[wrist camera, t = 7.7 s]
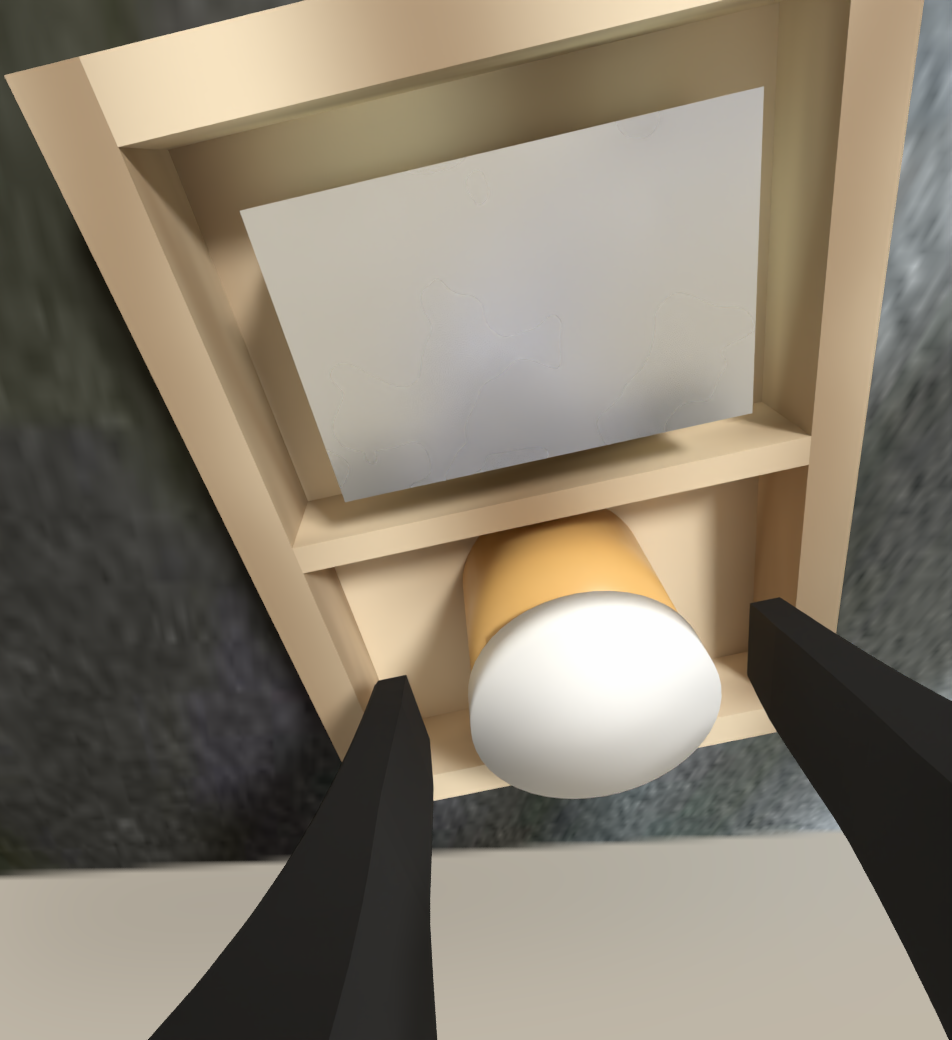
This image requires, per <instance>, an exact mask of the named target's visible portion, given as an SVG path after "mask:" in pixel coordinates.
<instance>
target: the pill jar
mask: <svg viewBox="0 0 952 1040" xmlns="http://www.w3.org/2000/svg"><path fill="white" fill-rule="evenodd" d="M463 593H464V604H465V615H466V625H467V636H468V647H469V657H470V668H471V674H470V679H469V684H468V703H469V715H470V727H471V735H472V741H473V744H474V746H475V749H476V752H477V753H478V755H479V757H480V758H481V760H482V762H483V763H484V764H485V765H486V766H487V767H488V769H489V770H490V771H492V772H493V773H494V774H495V775H496V776H497V777H499V778H500V779H502V780H503V781H505V782H506V783H508V784H510V785H512V786H514V787H516V788H518V789H521V790H524V791H527V792H529V793H532V794H537V795H541V796H546V797H553V798H565V799H582V798H594V797H601V796H607V795H612V794H616V793H620V792H624V791H627V790H630V789H633V788H636V787H639V786H641V785H644V784H646V783H648V782H650V781H652V780H655V779H657V778H659V777H661V776H662V775H664V774H666V773H667V772H669V771H671V770H672V769H674V768H675V767H676V766H678V765H679V764H680V763H682V762H683V761H684V760H685V759H687V758H688V757H689V756H690V755H691V754H692V753H693V752H694V751H695V750H696V749H697V748H698V747H699V746H700V745H701V743H702V742H703V741H704V740H705V738H706V737H707V735H708V734H709V732H710V731H711V729H712V727H713V725H714V723H715V721H716V719H717V716H718V713H719V710H720V704H721V698H722V694H721V682H720V678H719V674H718V672H717V670H716V667H715V665H714V663H713V661H712V660H711V658H710V656H709V654H708V653H707V651H706V649H705V648H704V646H703V644H702V642H701V641H700V639H699V637H698V636H697V634H696V632H695V631H694V629H693V628H692V627H691V625H690V624H689V623H688V622H687V621H686V620H685V619H684V618H683V617H682V616H681V615H680V614H679V613H678V612H677V610H676V608H675V606H674V605H673V603H672V601H671V599H670V598H669V596H668V594H667V592H666V590H665V589H664V587H663V585H662V583H661V582H660V580H659V578H658V576H657V575H656V573H655V571H654V569H653V568H652V566H651V564H650V562H649V561H648V559H647V557H646V555H645V554H644V552H643V550H642V548H641V546H640V545H639V543H638V541H637V539H636V538H635V536H634V534H633V533H632V531H631V530H630V528H629V527H628V526H627V525H626V524H625V523H624V521H623V520H622V519H621V518H619V517H618V516H617V515H615V514H614V513H613V512H611V511H609V510H608V509H606V508H605V509H600V510H596V511H591V512H586V513H582V514H577V515H572V516H568V517H563V518H559V519H554V520H549V521H545V522H540V523H535V524H531V525H526V526H521V527H517V528H512V529H507V530H503V531H498V532H493V533H489V534H484V535H480V536H479V538H478V539H477V540H476V542H475V543H474V545H473V546H472V548H471V550H470V552H469V554H468V557H467V559H466V562H465V566H464V571H463Z"/></svg>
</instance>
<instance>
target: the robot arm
mask: <svg viewBox="0 0 952 1040" xmlns="http://www.w3.org/2000/svg"><path fill="white" fill-rule="evenodd" d="M747 676H748V678H749V680H750V682H751V684H752V686H753V688H754V690H755V692H756V694H757V696H758V698H759V700H760V702H761V704H762V706H763V708H764V710H765V712H766V714H767V716H768V718H769V720H770V721H771V723H772V725H773V726H774V728H775V729H776V731H777V732H778V734H779V735H780V737H781V738H782V740H783V742H784V743H785V745H786V746H787V748H788V749H789V751H790V752H791V754H792V755H793V757H794V758H795V760H796V761H797V763H798V764H799V766H800V767H801V769H802V770H803V772H804V773H805V775H806V776H807V778H808V779H809V781H810V782H811V784H812V785H813V787H814V788H815V790H816V791H817V793H818V794H819V796H820V797H821V799H822V800H823V802H824V803H825V805H826V806H827V808H828V809H829V811H830V812H831V814H832V815H833V817H834V819H835V820H836V822H837V823H838V825H839V827H840V828H841V830H842V831H843V833H844V835H845V836H846V838H847V839H848V841H849V843H850V845H851V847H852V848H853V850H854V852H855V854H856V856H857V858H858V860H859V861H860V863H861V865H862V867H863V869H864V871H865V873H866V874H867V876H868V878H869V880H870V882H871V884H872V885H873V887H874V889H875V891H876V893H877V895H878V897H879V899H880V901H881V902H882V905H883V906H884V908H885V910H886V912H887V914H888V916H889V918H890V920H891V922H892V924H893V926H894V928H895V930H896V932H897V933H898V935H899V938H900V940H901V942H902V943H903V945H904V947H905V949H906V951H907V953H908V955H909V957H910V960H911V962H912V964H913V966H914V968H915V970H916V972H917V974H918V976H919V978H920V980H921V982H922V984H923V986H924V988H925V990H926V992H927V994H928V996H929V998H930V1001H931V1003H932V1005H933V1007H934V1009H935V1011H936V1013H937V1015H938V1017H939V1019H940V1021H941V1024H942V1026H943V1028H944V1030H945V1032H946V1034H947V1037H948V1039H949V1040H952V701H950V700H948V699H946V698H945V697H943V696H941V695H939V694H937V693H935V692H933V691H932V690H930V689H928V688H926V687H924V686H923V685H921V684H919V683H917V682H915V681H913V680H912V679H910V678H908V677H906V676H904V675H903V674H901V673H899V672H898V671H896V670H894V669H892V668H891V667H889V666H887V665H886V664H884V663H882V662H881V661H879V660H877V659H876V658H874V657H872V656H871V655H869V654H867V653H866V652H864V651H863V650H861V649H859V648H858V647H856V646H855V645H853V644H851V643H850V642H848V641H847V640H845V639H843V638H842V637H840V636H839V635H837V634H836V633H834V632H833V631H831V630H829V629H828V628H826V627H825V626H823V625H822V624H820V623H819V622H817V621H816V620H814V619H813V618H811V617H810V616H808V615H807V614H805V613H804V612H802V611H800V610H799V609H797V608H796V607H794V606H793V605H791V604H790V603H788V602H787V601H785V600H783V599H782V598H780V597H778V598H773V599H768V600H763V601H758V602H754V603H750V612H749V637H748V662H747ZM433 794H434V785H433V771H432V758H431V746H430V738H429V735H428V733H427V730H426V727H425V724H424V722H423V719H422V716H421V713H420V711H419V708H418V705H417V702H416V700H415V697H414V694H413V692H412V689H411V686H410V683H409V681H408V678H407V675H403V676H398V677H393V678H388V679H383V680H379V681H377V683H376V684H375V685H374V688H373V691H372V693H371V696H370V699H369V701H368V704H367V706H366V709H365V711H364V714H363V716H362V719H361V721H360V724H359V726H358V728H357V731H356V733H355V735H354V738H353V740H352V742H351V744H350V746H349V749H348V751H347V753H346V755H345V757H344V759H343V761H342V764H341V766H340V768H339V770H338V772H337V774H336V776H335V778H334V780H333V782H332V784H331V786H330V788H329V790H328V792H327V794H326V795H325V797H324V799H323V801H322V803H321V805H320V807H319V809H318V811H317V813H316V814H315V816H314V818H313V820H312V822H311V823H310V825H309V827H308V829H307V830H306V832H305V834H304V835H303V837H302V839H301V840H300V842H299V844H298V845H297V847H296V849H295V850H294V852H293V853H292V855H291V857H290V858H289V860H288V861H287V863H286V865H285V866H284V868H283V869H282V871H281V872H280V874H279V875H278V877H277V878H276V880H275V881H274V883H273V884H272V885H271V887H270V889H269V890H268V891H267V893H266V894H265V896H264V897H263V899H262V900H261V902H260V903H259V904H258V906H257V907H256V909H255V910H254V912H253V913H252V914H251V916H250V917H249V918H248V920H247V921H246V922H245V924H244V925H243V926H242V928H241V929H240V930H239V932H238V933H237V934H236V936H235V937H234V938H233V939H232V941H231V942H230V943H229V944H228V946H227V947H226V948H225V949H224V951H223V952H222V953H221V954H220V956H219V957H218V958H217V960H216V961H215V962H214V963H213V965H212V966H211V967H210V969H209V970H208V971H207V972H206V974H205V975H204V976H203V977H202V978H201V980H200V981H199V982H198V983H197V984H196V986H195V987H194V988H193V989H192V990H191V992H190V993H189V994H188V995H187V996H186V997H185V998H184V999H183V1001H182V1002H181V1003H180V1004H179V1005H178V1006H177V1007H176V1009H175V1010H174V1011H173V1012H172V1013H171V1014H170V1015H169V1017H168V1018H167V1019H166V1020H165V1021H164V1022H163V1023H162V1024H161V1026H160V1027H159V1028H158V1029H157V1030H156V1031H155V1032H154V1034H153V1035H152V1036H151V1037H150V1038H149V1039H148V1040H437V1030H436V1015H435V1001H434V985H433V968H432V950H431V932H430V887H431V857H432V829H433Z"/></svg>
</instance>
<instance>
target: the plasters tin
mask: <svg viewBox="0 0 952 1040" xmlns="http://www.w3.org/2000/svg"><path fill="white" fill-rule="evenodd" d="M763 101H764V86H763V87H759V88H754V89H750V90H745V91H741V92H737V93H733V94H728V95H724V96H720V97H716V98H712V99H707V100H703V101H699V102H695V103H691V104H686V105H682V106H678V107H674V108H670V109H665V110H661V111H657V112H653V113H648V114H644V115H640V116H636V117H632V118H627V119H623V120H619V121H615V122H611V123H606V124H602V125H598V126H594V127H590V128H585V129H581V130H577V131H573V132H568V133H564V134H560V135H556V136H552V137H547V138H543V139H539V140H535V141H531V142H526V143H522V144H518V145H514V146H509V147H505V148H501V149H497V150H493V151H488V152H484V153H480V154H476V155H472V156H467V157H463V158H459V159H455V160H451V161H446V162H442V163H438V164H434V165H429V166H425V167H421V168H417V169H413V170H408V171H404V172H400V173H396V174H392V175H387V176H383V177H379V178H375V179H370V180H366V181H362V182H358V183H354V184H349V185H345V186H341V187H337V188H333V189H328V190H324V191H320V192H316V193H312V194H307V195H303V196H299V197H295V198H290V199H286V200H282V201H278V202H274V203H269V204H265V205H261V206H257V207H253V208H248V209H245V210H241V211H240V214H241V216H242V219H243V222H244V225H245V227H246V230H247V233H248V236H249V238H250V241H251V244H252V247H253V249H254V252H255V255H256V258H257V260H258V263H259V266H260V269H261V272H262V274H263V277H264V280H265V283H266V285H267V288H268V291H269V294H270V296H271V299H272V302H273V305H274V307H275V310H276V313H277V316H278V318H279V321H280V324H281V327H282V329H283V332H284V335H285V338H286V340H287V343H288V346H289V349H290V352H291V354H292V357H293V360H294V363H295V365H296V368H297V371H298V374H299V376H300V379H301V382H302V385H303V387H304V390H305V393H306V396H307V398H308V401H309V404H310V407H311V409H312V412H313V415H314V418H315V420H316V423H317V426H318V429H319V432H320V434H321V437H322V440H323V443H324V445H325V448H326V451H327V454H328V456H329V459H330V462H331V465H332V467H333V470H334V473H335V476H336V478H337V481H338V484H339V487H340V489H341V492H342V495H343V498H344V500H345V502H349V501H353V500H358V499H362V498H367V497H372V496H376V495H381V494H385V493H390V492H394V491H399V490H404V489H408V488H413V487H417V486H422V485H426V484H431V483H436V482H440V481H445V480H449V479H454V478H458V477H463V476H468V475H472V474H477V473H481V472H486V471H490V470H495V469H500V468H504V467H509V466H513V465H518V464H522V463H527V462H532V461H536V460H541V459H545V458H550V457H554V456H559V455H564V454H568V453H573V452H577V451H582V450H586V449H591V448H595V447H600V446H605V445H609V444H614V443H618V442H623V441H627V440H632V439H637V438H641V437H646V436H650V435H655V434H659V433H664V432H669V431H673V430H678V429H682V428H687V427H691V426H696V425H701V424H705V423H710V422H714V421H719V420H723V419H728V418H733V417H737V416H742V415H746V414H751V413H752V409H753V381H754V353H755V325H756V297H757V269H758V241H759V213H760V185H761V157H762V129H763Z"/></svg>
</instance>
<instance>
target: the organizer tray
mask: <svg viewBox="0 0 952 1040" xmlns="http://www.w3.org/2000/svg"><path fill="white" fill-rule="evenodd" d="M923 4H924V0H305V1H301V2H297V3H293V4H289V5H285V6H281V7H277V8H273V9H269V10H265V11H261V12H257V13H253V14H249V15H245V16H241V17H237V18H233V19H229V20H225V21H221V22H217V23H213V24H209V25H205V26H201V27H197V28H193V29H189V30H185V31H181V32H177V33H173V34H168V35H164V36H160V37H156V38H152V39H148V40H144V41H140V42H136V43H132V44H128V45H124V46H120V47H116V48H112V49H108V50H104V51H100V52H96V53H92V54H88V55H84V56H80V57H76V58H72V59H68V60H64V61H60V62H56V63H52V64H48V65H44V66H40V67H36V68H32V69H28V70H24V71H20V72H16V73H12V74H8V75H4V76H5V78H6V80H7V82H8V84H9V86H10V88H11V90H12V92H13V94H14V96H15V99H16V101H17V103H18V105H19V107H20V109H21V111H22V113H23V115H24V117H25V119H26V121H27V123H28V125H29V127H30V129H31V131H32V133H33V135H34V137H35V139H36V141H37V143H38V145H39V147H40V149H41V151H42V153H43V155H44V157H45V160H46V162H47V164H48V166H49V168H50V170H51V172H52V174H53V176H54V178H55V180H56V182H57V184H58V186H59V188H60V190H61V192H62V194H63V196H64V198H65V200H66V202H67V204H68V206H69V208H70V210H71V212H72V214H73V216H74V219H75V221H76V223H77V225H78V227H79V229H80V231H81V233H82V235H83V237H84V239H85V241H86V243H87V245H88V247H89V249H90V251H91V253H92V255H93V257H94V259H95V261H96V263H97V265H98V267H99V269H100V271H101V273H102V275H103V277H104V280H105V282H106V284H107V286H108V288H109V290H110V292H111V294H112V296H113V298H114V300H115V302H116V304H117V306H118V308H119V310H120V312H121V314H122V316H123V318H124V320H125V322H126V324H127V326H128V328H129V330H130V332H131V334H132V336H133V339H134V341H135V343H136V345H137V347H138V349H139V351H140V353H141V355H142V357H143V359H144V361H145V363H146V365H147V367H148V369H149V371H150V373H151V375H152V377H153V379H154V381H155V383H156V385H157V387H158V389H159V391H160V393H161V395H162V398H163V400H164V402H165V404H166V406H167V408H168V410H169V412H170V414H171V416H172V418H173V420H174V422H175V424H176V426H177V428H178V430H179V432H180V434H181V436H182V438H183V440H184V442H185V444H186V446H187V448H188V450H189V452H190V454H191V456H192V459H193V461H194V463H195V465H196V467H197V469H198V471H199V473H200V475H201V477H202V479H203V481H204V483H205V485H206V487H207V489H208V491H209V493H210V495H211V497H212V499H213V501H214V503H215V505H216V507H217V509H218V511H219V513H220V515H221V518H222V520H223V522H224V524H225V526H226V528H227V530H228V532H229V534H230V536H231V538H232V540H233V542H234V544H235V546H236V548H237V550H238V552H239V554H240V556H241V558H242V560H243V562H244V564H245V566H246V568H247V570H248V572H249V574H250V576H251V579H252V581H253V583H254V585H255V587H256V589H257V591H258V593H259V595H260V597H261V599H262V601H263V603H264V605H265V607H266V609H267V611H268V613H269V615H270V617H271V619H272V621H273V623H274V625H275V627H276V629H277V631H278V633H279V635H280V638H281V640H282V642H283V644H284V646H285V648H286V650H287V652H288V654H289V656H290V658H291V660H292V662H293V664H294V666H295V668H296V670H297V672H298V674H299V676H300V678H301V680H302V682H303V684H304V686H305V688H306V690H307V692H308V694H309V696H310V699H311V701H312V703H313V705H314V707H315V709H316V711H317V713H318V715H319V717H320V719H321V721H322V723H323V725H324V727H325V729H326V731H327V733H328V735H329V737H330V739H331V741H332V743H333V745H334V747H335V749H336V751H337V753H338V755H339V758H340V760H341V762H342V761H343V759H344V757H345V755H346V753H347V751H348V749H349V746H350V744H351V742H352V740H353V738H354V735H355V733H356V731H357V728H358V726H359V724H360V721H361V719H362V716H363V714H364V711H365V709H366V706H367V704H368V701H369V699H370V696H371V693H372V691H373V688H374V685H375V684H376V683H377V681H379V680H383V679H388V678H393V677H398V676H403V675H407V678H408V681H409V683H410V686H411V689H412V692H413V694H414V697H415V700H416V702H417V705H418V708H419V711H420V713H421V716H422V719H423V722H424V724H425V727H426V730H427V733H428V735H429V738H430V746H431V758H432V771H433V785H434V794H433V801H435V800H440V799H445V798H450V797H455V796H460V795H465V794H470V793H475V792H480V791H485V790H490V789H495V788H500V787H505V786H510V784H508V783H506V782H505V781H503V780H502V779H500V778H499V777H497V776H496V775H495V774H494V773H493V772H492V771H490V770H489V769H488V767H487V766H486V765H485V764H484V763H483V762H482V760H481V758H480V757H479V755H478V753H477V752H476V749H475V746H474V744H473V741H472V735H471V727H470V715H469V703H468V684H469V679H470V674H471V668H470V657H469V647H468V636H467V625H466V615H465V604H464V593H463V571H464V566H465V562H466V559H467V557H468V554H469V552H470V550H471V548H472V546H473V545H474V543H475V542H476V540H477V539H478V538H479V536H480V535H484V534H489V533H493V532H498V531H503V530H507V529H512V528H517V527H521V526H526V525H531V524H535V523H540V522H545V521H549V520H554V519H559V518H563V517H568V516H572V515H577V514H582V513H586V512H591V511H596V510H600V509H605V508H606V509H608V510H609V511H611V512H613V513H614V514H615V515H617V516H618V517H619V518H621V519H622V520H623V521H624V523H625V524H626V525H627V526H628V527H629V528H630V530H631V531H632V533H633V534H634V536H635V538H636V539H637V541H638V543H639V545H640V546H641V548H642V550H643V552H644V554H645V555H646V557H647V559H648V561H649V562H650V564H651V566H652V568H653V569H654V571H655V573H656V575H657V576H658V578H659V580H660V582H661V583H662V585H663V587H664V589H665V590H666V592H667V594H668V596H669V598H670V599H671V601H672V603H673V605H674V606H675V608H676V610H677V612H678V613H679V614H680V615H681V616H682V617H683V618H684V619H685V620H686V621H687V622H688V623H689V624H690V625H691V627H692V628H693V629H694V631H695V632H696V634H697V636H698V637H699V639H700V641H701V642H702V644H703V646H704V648H705V649H706V651H707V653H708V654H709V656H710V658H711V660H712V661H713V663H714V665H715V667H716V670H717V672H718V674H719V678H720V682H721V694H722V698H721V704H720V710H719V713H718V716H717V719H716V721H715V723H714V725H713V727H712V729H711V731H710V732H709V734H708V735H707V737H706V738H705V740H704V741H703V742H702V743H701V745H700V746H699V747H698V748H700V747H705V746H710V745H715V744H720V743H725V742H730V741H735V740H740V739H745V738H750V737H755V736H760V735H765V734H770V733H775V732H777V731H776V729H775V728H774V726H773V725H772V723H771V721H770V720H769V718H768V716H767V714H766V712H765V710H764V708H763V706H762V704H761V702H760V700H759V698H758V696H757V694H756V692H755V690H754V688H753V686H752V684H751V682H750V680H749V678H748V676H747V662H748V637H749V612H750V603H754V602H758V601H763V600H768V599H773V598H778V597H780V598H782V599H783V600H785V601H787V602H788V603H790V604H791V605H793V606H794V607H796V608H797V609H799V610H800V611H802V612H804V613H805V614H807V615H808V616H810V617H811V618H813V619H814V620H816V621H817V622H819V623H820V624H822V625H823V626H825V627H826V628H828V629H829V630H831V631H833V632H834V633H836V630H837V622H838V615H839V608H840V601H841V594H842V587H843V579H844V572H845V565H846V558H847V551H848V543H849V536H850V529H851V522H852V515H853V507H854V500H855V493H856V486H857V479H858V472H859V464H860V457H861V450H862V443H863V436H864V428H865V421H866V414H867V407H868V400H869V392H870V385H871V378H872V371H873V364H874V357H875V349H876V342H877V335H878V328H879V321H880V313H881V306H882V299H883V292H884V285H885V277H886V270H887V263H888V256H889V249H890V242H891V234H892V227H893V220H894V213H895V206H896V198H897V191H898V184H899V177H900V170H901V162H902V155H903V148H904V141H905V134H906V126H907V119H908V112H909V105H910V98H911V91H912V83H913V76H914V69H915V62H916V55H917V47H918V40H919V33H920V26H921V19H922V11H923ZM763 86H764V101H763V129H762V157H761V185H760V213H759V241H758V269H757V297H756V325H755V353H754V381H753V409H752V413H751V414H746V415H742V416H737V417H733V418H728V419H723V420H719V421H714V422H710V423H705V424H701V425H696V426H691V427H687V428H682V429H678V430H673V431H669V432H664V433H659V434H655V435H650V436H646V437H641V438H637V439H632V440H627V441H623V442H618V443H614V444H609V445H605V446H600V447H595V448H591V449H586V450H582V451H577V452H573V453H568V454H564V455H559V456H554V457H550V458H545V459H541V460H536V461H532V462H527V463H522V464H518V465H513V466H509V467H504V468H500V469H495V470H490V471H486V472H481V473H477V474H472V475H468V476H463V477H458V478H454V479H449V480H445V481H440V482H436V483H431V484H426V485H422V486H417V487H413V488H408V489H404V490H399V491H394V492H390V493H385V494H381V495H376V496H372V497H367V498H362V499H358V500H353V501H349V502H345V500H344V498H343V495H342V492H341V489H340V487H339V484H338V481H337V478H336V476H335V473H334V470H333V467H332V465H331V462H330V459H329V456H328V454H327V451H326V448H325V445H324V443H323V440H322V437H321V434H320V432H319V429H318V426H317V423H316V420H315V418H314V415H313V412H312V409H311V407H310V404H309V401H308V398H307V396H306V393H305V390H304V387H303V385H302V382H301V379H300V376H299V374H298V371H297V368H296V365H295V363H294V360H293V357H292V354H291V352H290V349H289V346H288V343H287V340H286V338H285V335H284V332H283V329H282V327H281V324H280V321H279V318H278V316H277V313H276V310H275V307H274V305H273V302H272V299H271V296H270V294H269V291H268V288H267V285H266V283H265V280H264V277H263V274H262V272H261V269H260V266H259V263H258V260H257V258H256V255H255V252H254V249H253V247H252V244H251V241H250V238H249V236H248V233H247V230H246V227H245V225H244V222H243V219H242V216H241V214H240V211H241V210H245V209H248V208H253V207H257V206H261V205H265V204H269V203H274V202H278V201H282V200H286V199H290V198H295V197H299V196H303V195H307V194H312V193H316V192H320V191H324V190H328V189H333V188H337V187H341V186H345V185H349V184H354V183H358V182H362V181H366V180H370V179H375V178H379V177H383V176H387V175H392V174H396V173H400V172H404V171H408V170H413V169H417V168H421V167H425V166H429V165H434V164H438V163H442V162H446V161H451V160H455V159H459V158H463V157H467V156H472V155H476V154H480V153H484V152H488V151H493V150H497V149H501V148H505V147H509V146H514V145H518V144H522V143H526V142H531V141H535V140H539V139H543V138H547V137H552V136H556V135H560V134H564V133H568V132H573V131H577V130H581V129H585V128H590V127H594V126H598V125H602V124H606V123H611V122H615V121H619V120H623V119H627V118H632V117H636V116H640V115H644V114H648V113H653V112H657V111H661V110H665V109H670V108H674V107H678V106H682V105H686V104H691V103H695V102H699V101H703V100H707V99H712V98H716V97H720V96H724V95H728V94H733V93H737V92H741V91H745V90H750V89H754V88H759V87H763Z"/></svg>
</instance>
